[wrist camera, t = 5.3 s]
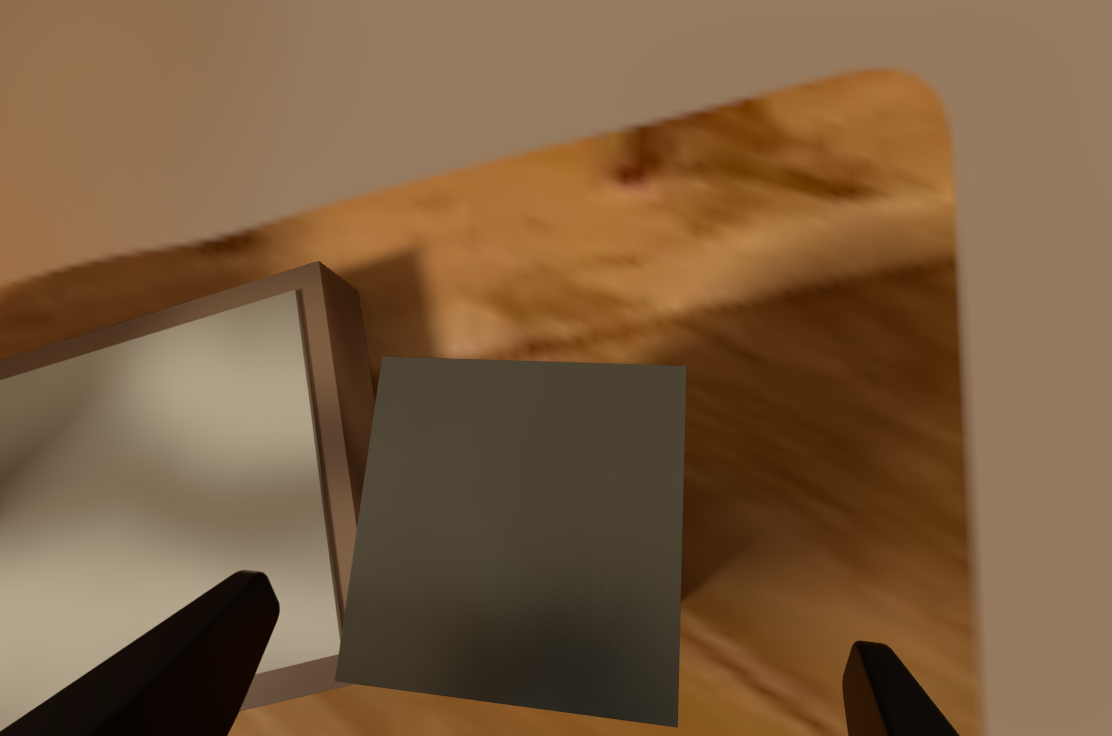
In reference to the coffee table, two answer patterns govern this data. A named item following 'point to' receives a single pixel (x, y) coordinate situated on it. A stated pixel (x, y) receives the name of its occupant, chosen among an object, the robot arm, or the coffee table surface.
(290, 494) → the brown framed square mirror
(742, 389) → the coffee table surface
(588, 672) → the olive grey square block
